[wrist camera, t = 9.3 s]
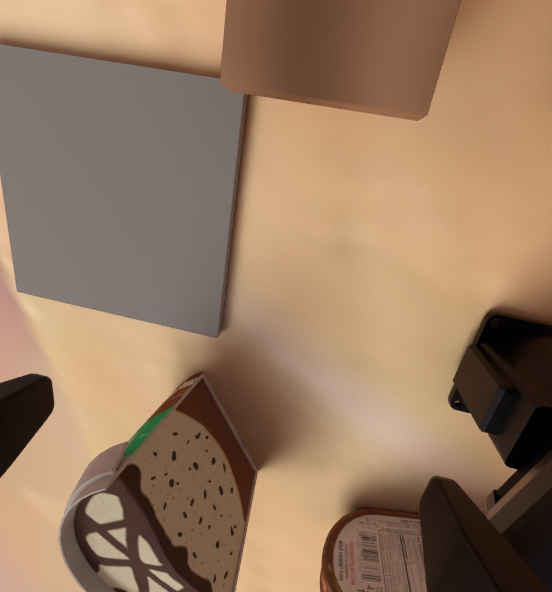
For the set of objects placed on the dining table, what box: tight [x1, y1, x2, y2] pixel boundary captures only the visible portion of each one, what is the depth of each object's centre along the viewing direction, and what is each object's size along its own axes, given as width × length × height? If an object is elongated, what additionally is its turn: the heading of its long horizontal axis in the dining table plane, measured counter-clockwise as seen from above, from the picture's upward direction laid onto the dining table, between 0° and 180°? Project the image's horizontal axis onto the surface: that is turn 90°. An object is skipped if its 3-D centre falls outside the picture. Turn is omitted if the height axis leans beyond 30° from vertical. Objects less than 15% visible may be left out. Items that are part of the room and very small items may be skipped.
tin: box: [320, 509, 427, 592], centre depth 21 cm, size 15×3×8 cm, turn 93°
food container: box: [58, 372, 258, 592], centre depth 21 cm, size 12×6×10 cm, turn 24°
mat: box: [0, 44, 248, 338], centre depth 20 cm, size 14×14×1 cm
